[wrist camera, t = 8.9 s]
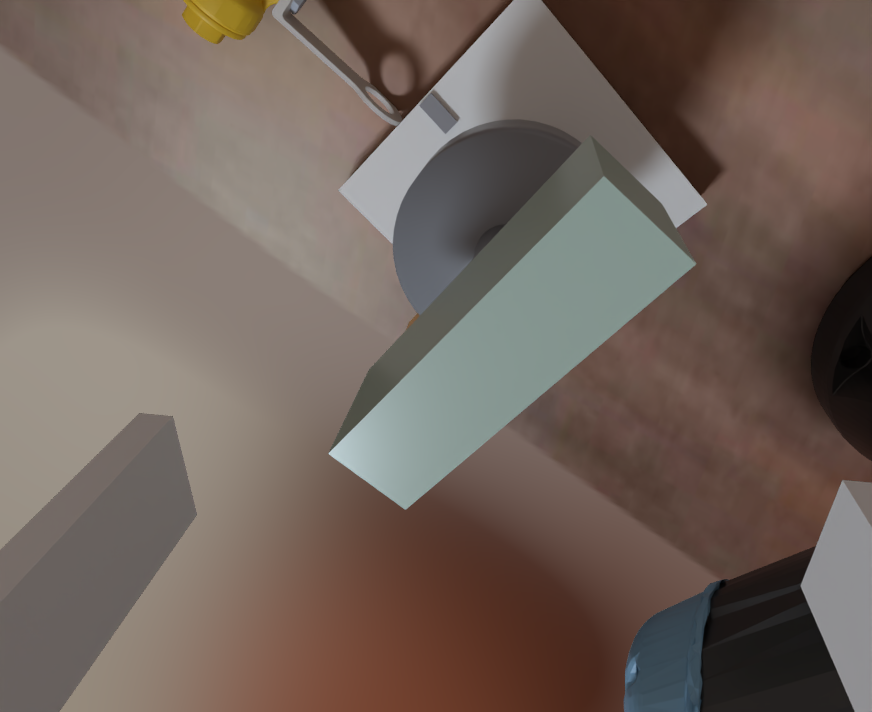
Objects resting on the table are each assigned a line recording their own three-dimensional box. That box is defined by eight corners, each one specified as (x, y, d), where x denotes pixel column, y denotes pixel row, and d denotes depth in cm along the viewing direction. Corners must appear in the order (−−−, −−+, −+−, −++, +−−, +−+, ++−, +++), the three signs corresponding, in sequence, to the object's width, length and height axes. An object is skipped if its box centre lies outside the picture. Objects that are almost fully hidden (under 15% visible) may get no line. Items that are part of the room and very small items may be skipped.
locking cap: (522, 45, 24) (502, 80, 13) (685, 205, 25) (780, 344, 15) (347, 261, 29) (236, 405, 19) (493, 379, 31) (465, 571, 20)
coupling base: (700, 196, 32) (733, 237, 26) (507, 344, 37) (500, 404, 32) (529, -15, 28) (525, -19, 23) (346, 183, 34) (306, 218, 29)
